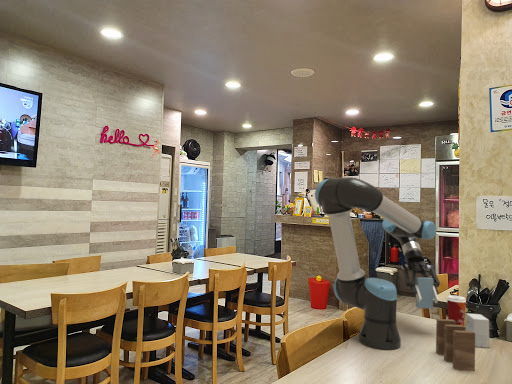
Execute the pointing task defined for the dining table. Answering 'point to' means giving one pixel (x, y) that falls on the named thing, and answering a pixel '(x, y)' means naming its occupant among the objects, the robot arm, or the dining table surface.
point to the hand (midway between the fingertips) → (428, 301)
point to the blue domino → (425, 292)
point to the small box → (478, 329)
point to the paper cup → (456, 309)
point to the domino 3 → (464, 350)
